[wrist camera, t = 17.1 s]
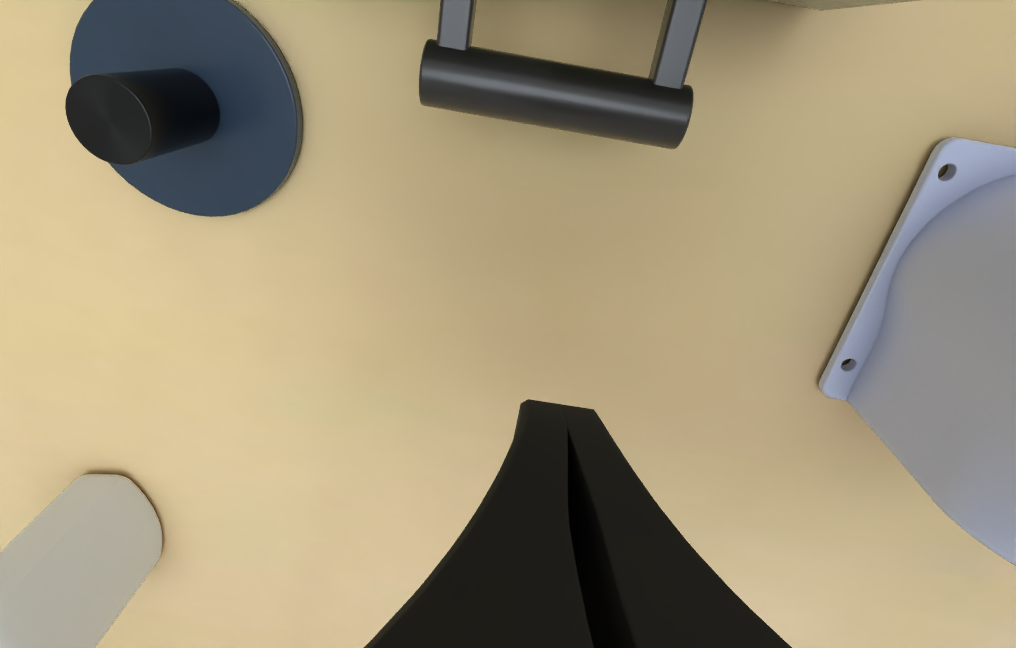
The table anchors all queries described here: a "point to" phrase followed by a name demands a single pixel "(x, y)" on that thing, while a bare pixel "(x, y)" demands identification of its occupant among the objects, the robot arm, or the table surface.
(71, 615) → the eye dropper bottle
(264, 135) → the lid
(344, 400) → the table surface
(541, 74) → the drawer
